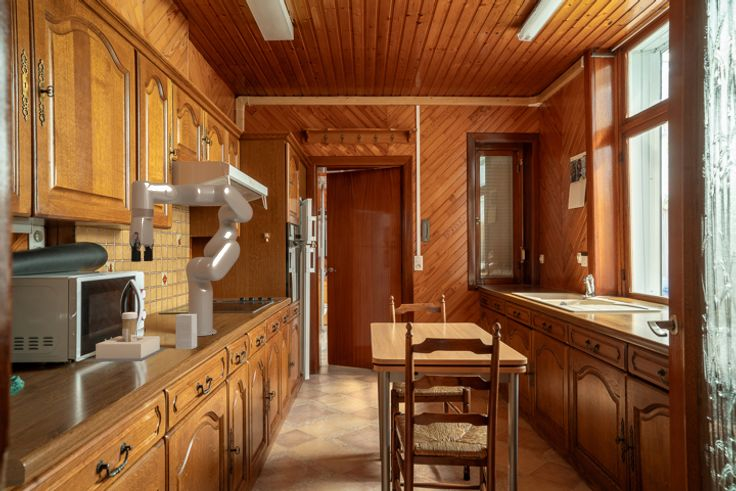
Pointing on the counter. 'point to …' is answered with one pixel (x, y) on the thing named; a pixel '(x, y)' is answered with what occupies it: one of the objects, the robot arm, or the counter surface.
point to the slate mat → (125, 358)
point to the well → (127, 348)
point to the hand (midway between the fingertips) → (142, 261)
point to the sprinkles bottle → (129, 327)
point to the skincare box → (186, 331)
